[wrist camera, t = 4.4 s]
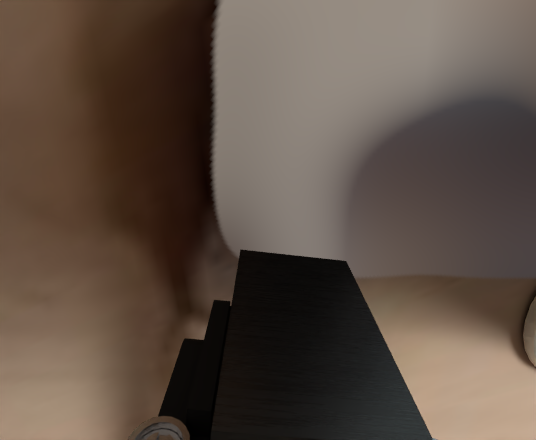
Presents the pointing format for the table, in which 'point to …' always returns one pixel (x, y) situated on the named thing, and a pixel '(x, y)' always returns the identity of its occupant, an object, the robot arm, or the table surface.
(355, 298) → the grey angular bent frame
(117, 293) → the table surface
